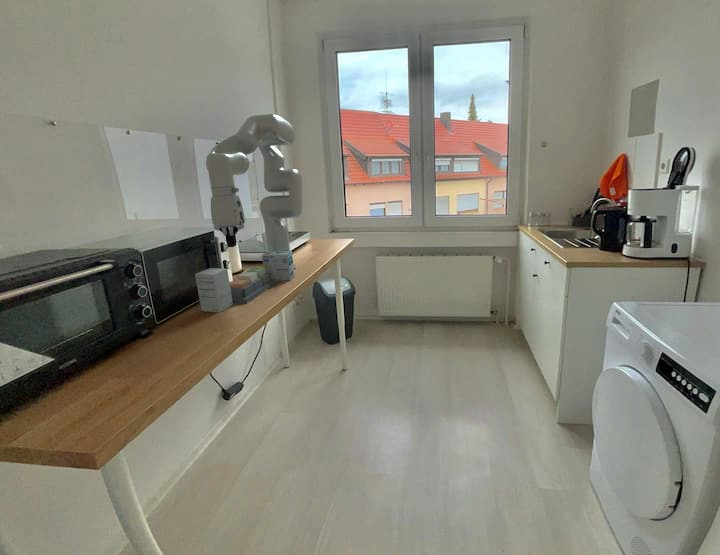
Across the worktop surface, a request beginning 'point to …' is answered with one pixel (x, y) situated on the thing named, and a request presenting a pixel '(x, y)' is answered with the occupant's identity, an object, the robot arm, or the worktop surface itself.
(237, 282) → the terracotta button
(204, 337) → the worktop surface
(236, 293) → the grey long rectangular frame
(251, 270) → the sage button
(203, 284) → the supplement box
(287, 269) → the light bulb box
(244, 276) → the cream button
